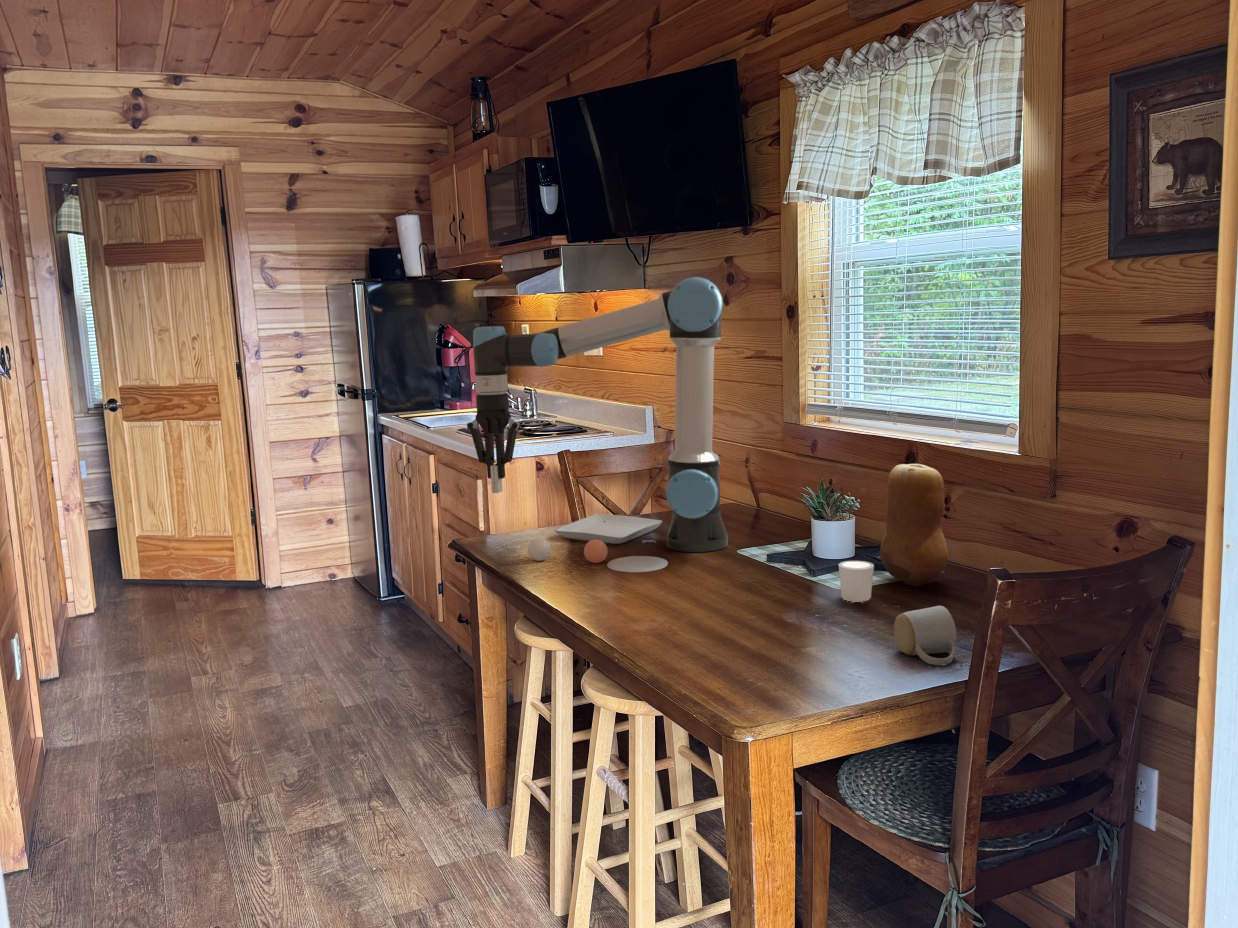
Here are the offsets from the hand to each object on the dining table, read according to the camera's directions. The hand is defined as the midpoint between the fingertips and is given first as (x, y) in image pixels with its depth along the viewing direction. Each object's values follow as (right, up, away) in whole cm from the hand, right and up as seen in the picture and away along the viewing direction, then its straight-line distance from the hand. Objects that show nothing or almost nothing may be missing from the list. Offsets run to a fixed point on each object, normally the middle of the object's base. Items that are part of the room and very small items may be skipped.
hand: (497, 491), depth 237 cm
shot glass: (+76, -20, -38) cm, 88 cm away
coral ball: (+24, -14, -4) cm, 28 cm away
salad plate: (+27, -13, +24) cm, 38 cm away
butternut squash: (+90, -18, -29) cm, 97 cm away
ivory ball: (+10, -14, -1) cm, 17 cm away
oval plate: (+33, -17, -7) cm, 38 cm away
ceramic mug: (+81, -25, -71) cm, 110 cm away
